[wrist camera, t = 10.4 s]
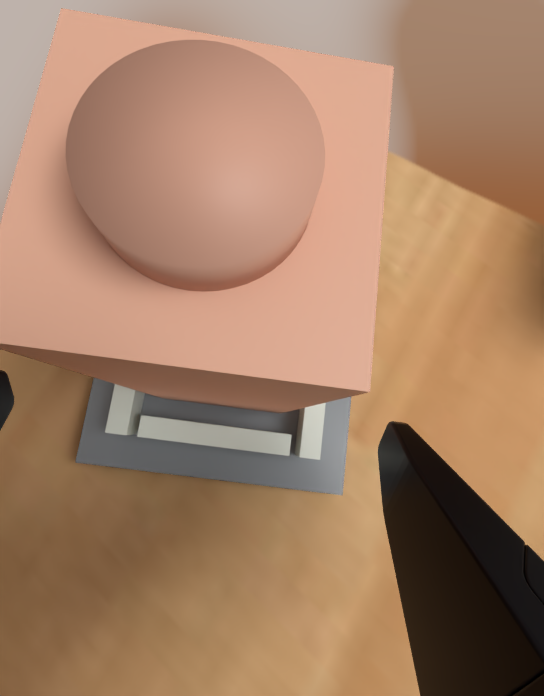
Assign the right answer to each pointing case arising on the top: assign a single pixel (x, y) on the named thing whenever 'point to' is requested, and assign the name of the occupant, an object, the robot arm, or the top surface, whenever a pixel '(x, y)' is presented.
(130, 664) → the top surface
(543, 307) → the top surface
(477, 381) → the top surface
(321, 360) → the pillar
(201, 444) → the socket plate
